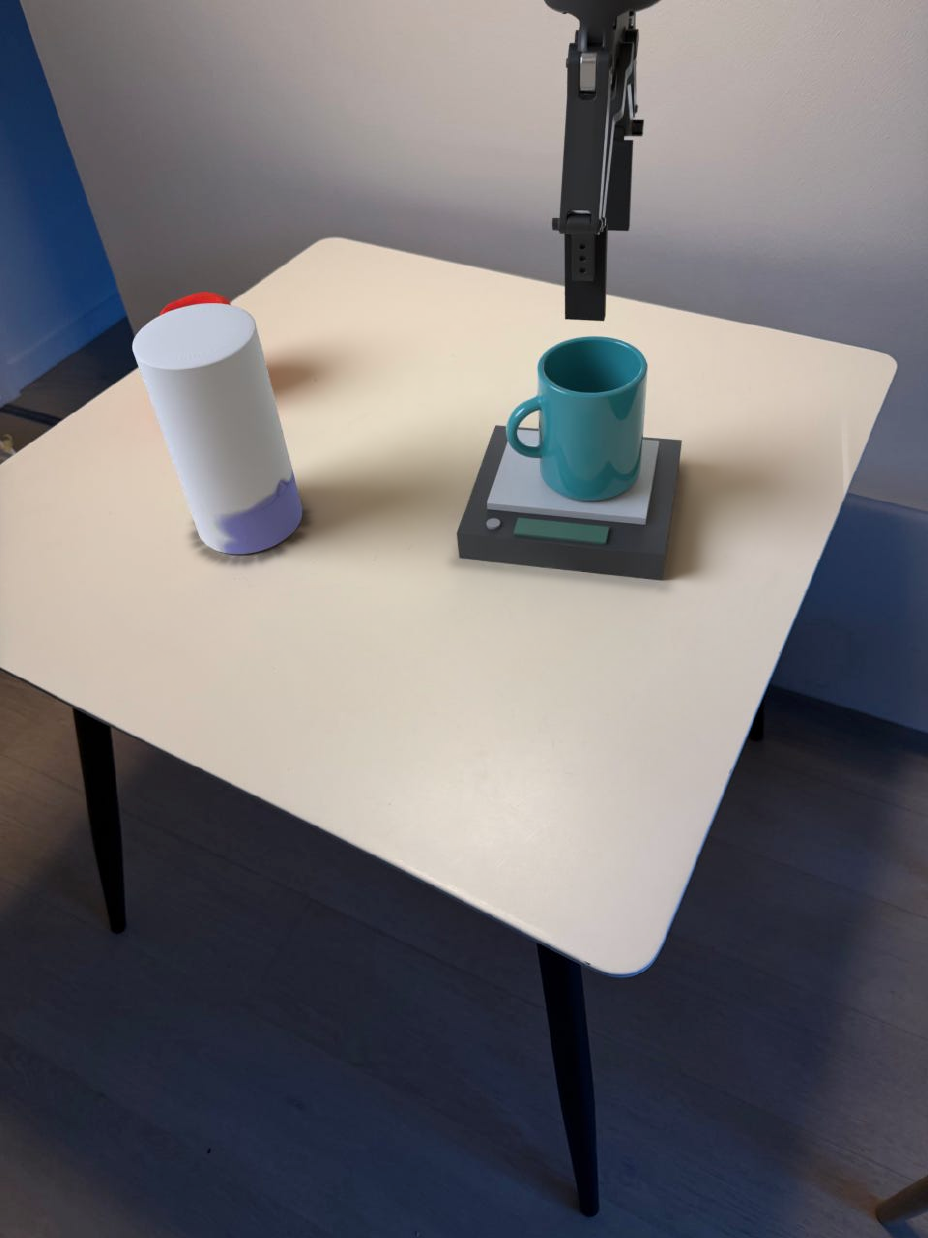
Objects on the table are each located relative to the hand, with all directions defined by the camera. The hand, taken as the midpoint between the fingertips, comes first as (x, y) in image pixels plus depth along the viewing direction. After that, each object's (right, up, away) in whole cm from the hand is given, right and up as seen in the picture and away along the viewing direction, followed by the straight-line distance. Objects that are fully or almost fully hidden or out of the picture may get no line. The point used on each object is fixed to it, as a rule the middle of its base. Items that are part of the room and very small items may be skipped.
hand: (599, 270), depth 73 cm
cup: (0, -13, +17) cm, 21 cm away
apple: (-37, 0, +38) cm, 53 cm away
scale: (0, -15, +19) cm, 25 cm away
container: (-30, -16, +22) cm, 41 cm away
